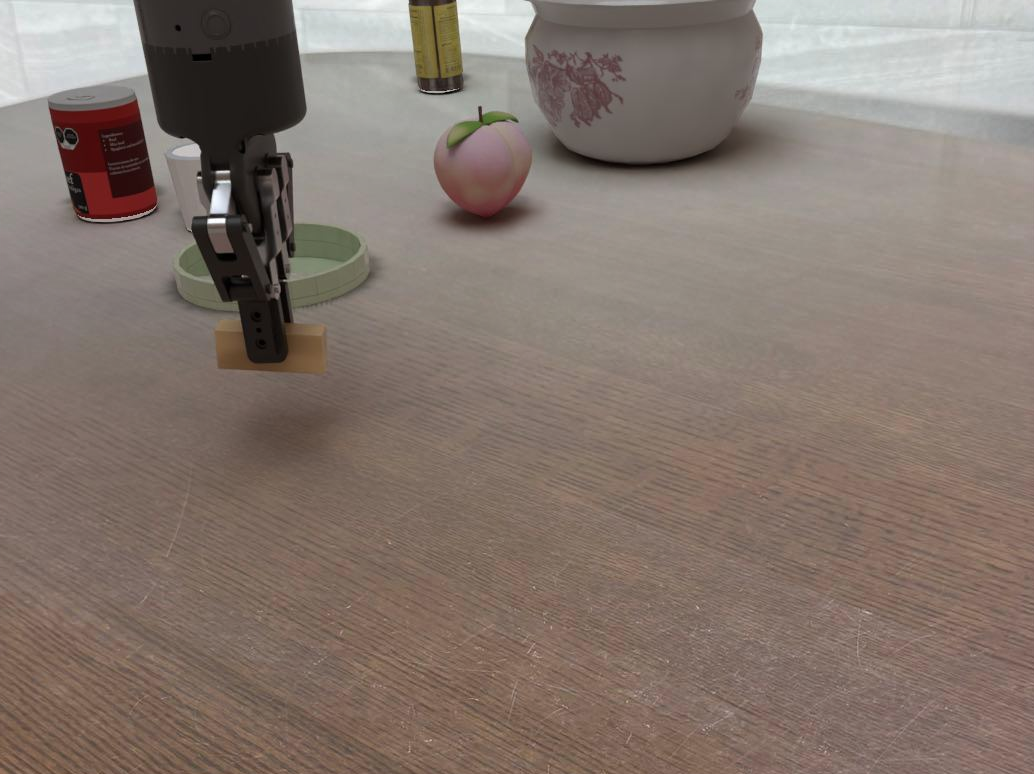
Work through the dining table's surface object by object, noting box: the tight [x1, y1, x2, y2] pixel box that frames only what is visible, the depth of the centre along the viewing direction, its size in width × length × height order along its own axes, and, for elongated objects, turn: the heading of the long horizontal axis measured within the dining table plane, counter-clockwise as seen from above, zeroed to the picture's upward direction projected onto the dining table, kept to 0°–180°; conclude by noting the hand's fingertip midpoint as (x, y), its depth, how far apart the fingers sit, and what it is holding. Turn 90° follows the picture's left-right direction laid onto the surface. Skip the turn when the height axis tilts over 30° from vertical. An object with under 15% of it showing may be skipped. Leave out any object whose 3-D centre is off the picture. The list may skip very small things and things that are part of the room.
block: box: [213, 318, 329, 375], centre depth 68 cm, size 6×2×2 cm, turn 89°
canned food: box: [47, 85, 158, 219], centre depth 114 cm, size 8×8×11 cm
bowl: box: [172, 221, 371, 313], centre depth 96 cm, size 15×15×4 cm
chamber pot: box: [524, 0, 764, 166], centre depth 125 cm, size 28×28×21 cm
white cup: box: [164, 141, 207, 229], centre depth 111 cm, size 7×7×7 cm
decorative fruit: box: [433, 105, 533, 219], centre depth 109 cm, size 9×8×10 cm
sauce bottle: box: [408, 0, 464, 91], centre depth 154 cm, size 6×6×20 cm
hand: (272, 352), depth 68 cm, fingers closed on block, 1 cm apart
